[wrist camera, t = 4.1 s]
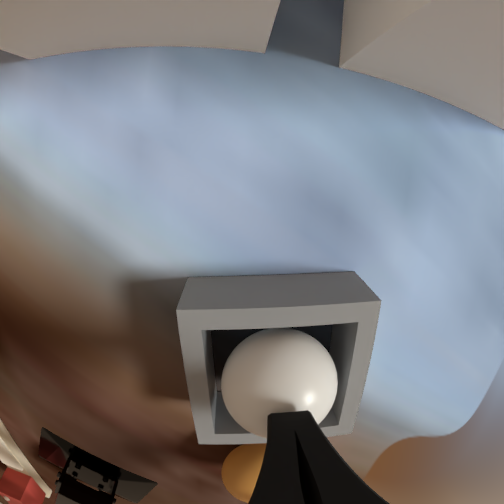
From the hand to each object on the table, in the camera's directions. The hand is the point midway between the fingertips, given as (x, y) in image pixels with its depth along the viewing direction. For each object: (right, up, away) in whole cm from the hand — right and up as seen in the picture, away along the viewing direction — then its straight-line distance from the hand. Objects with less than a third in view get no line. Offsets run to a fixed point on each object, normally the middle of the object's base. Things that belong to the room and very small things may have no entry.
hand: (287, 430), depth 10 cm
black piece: (-14, -11, +9) cm, 20 cm away
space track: (-23, -8, +7) cm, 25 cm away
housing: (0, +2, +5) cm, 5 cm away
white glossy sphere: (0, +1, +5) cm, 5 cm away
